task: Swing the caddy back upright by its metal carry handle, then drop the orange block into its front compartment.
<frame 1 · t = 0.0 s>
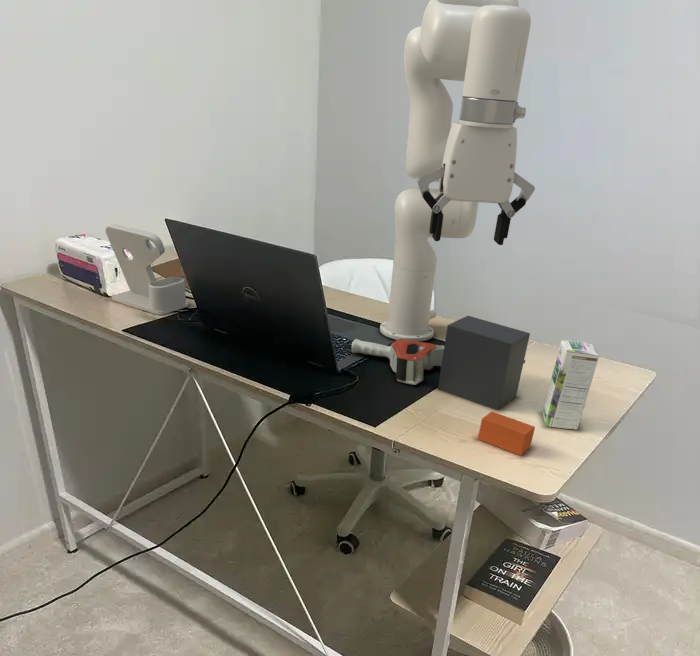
hand: (467, 241, 100), 31 cm above the table, tool pointing down, fingers open, 9 cm apart
orange block: (503, 443, 112), on the table
tape dispenser: (399, 367, 137), on the table
phone holder: (150, 303, 161), on the table
caddy: (490, 357, 128), point 6 cm above the table, hinge at 90.0°
syrup box: (559, 422, 120), on the table
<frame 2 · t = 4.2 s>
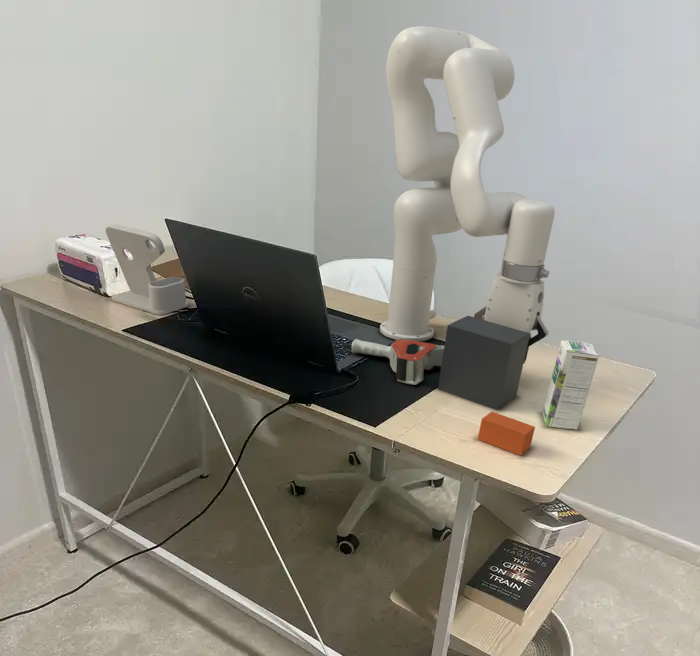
hand: (503, 359, 134), 4 cm above the table, tool pointing down, fingers closed on caddy, 6 cm apart
caddy: (490, 357, 128), point 6 cm above the table, hinge at 90.0°, touching gripper
everything else where it was.
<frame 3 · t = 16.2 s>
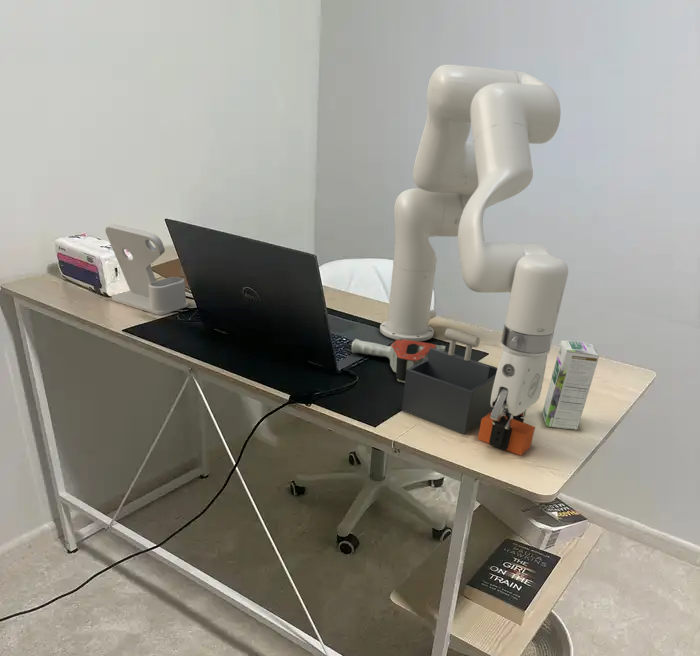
hand: (504, 440, 112), 0 cm above the table, tool pointing down, fingers closed on orange block, 3 cm apart
orange block: (503, 443, 112), on the table, touching gripper
caddy: (456, 372, 117), point 7 cm above the table, hinge at 0.0°
everything else where it was.
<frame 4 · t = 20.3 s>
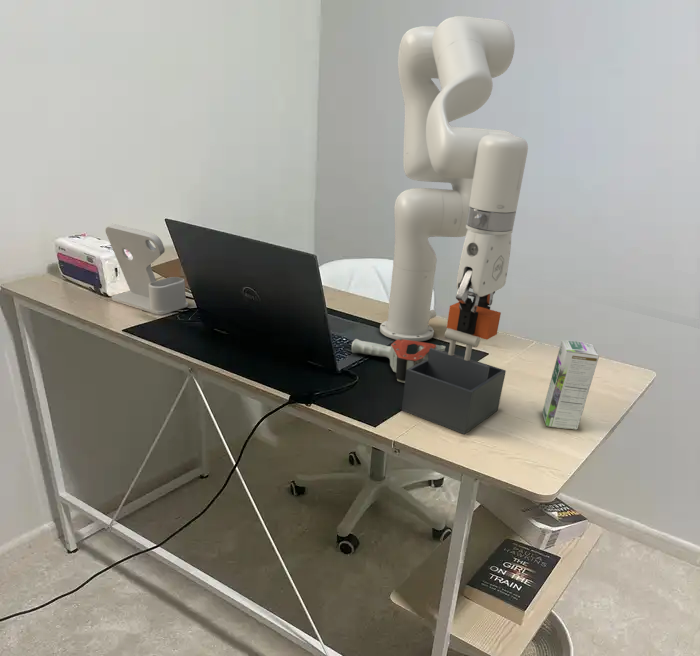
hand: (471, 328, 116), 15 cm above the table, tool pointing down, fingers closed on orange block, 3 cm apart
orange block: (471, 331, 116), point 14 cm above the table, touching gripper
everything else where it was.
when the fingers open (16 cm above the table, at t = 25.6 s): orange block drops 15 cm, resting on caddy.
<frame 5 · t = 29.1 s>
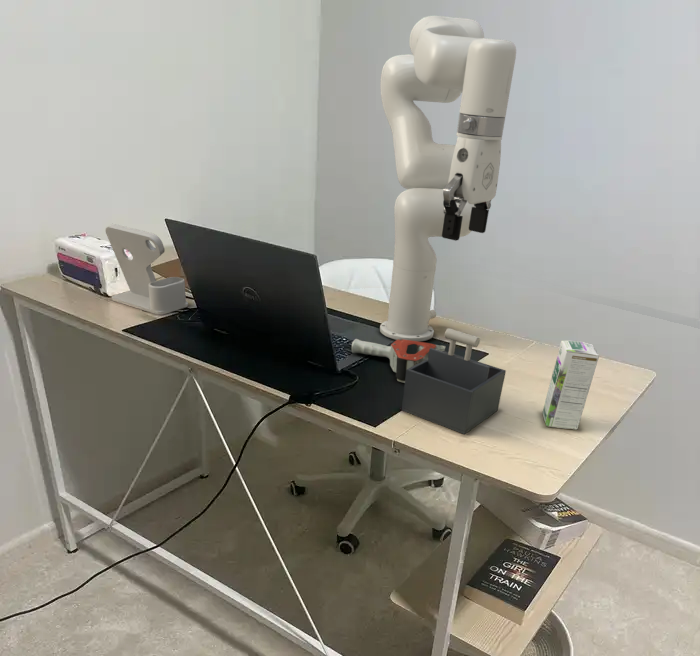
hand: (463, 235, 118), 28 cm above the table, tool pointing down, fingers open, 9 cm apart
orange block: (459, 402, 123), point 1 cm above the table, touching caddy
caddy: (456, 372, 117), point 7 cm above the table, hinge at 0.0°, touching orange block
everything else where it was.
at the end: caddy at +0° (first picture: +90°); orange block inside the target area on the caddy (3.1 cm from its centre), point 0.6 cm above the caddy's base; the gripper is holding nothing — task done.
